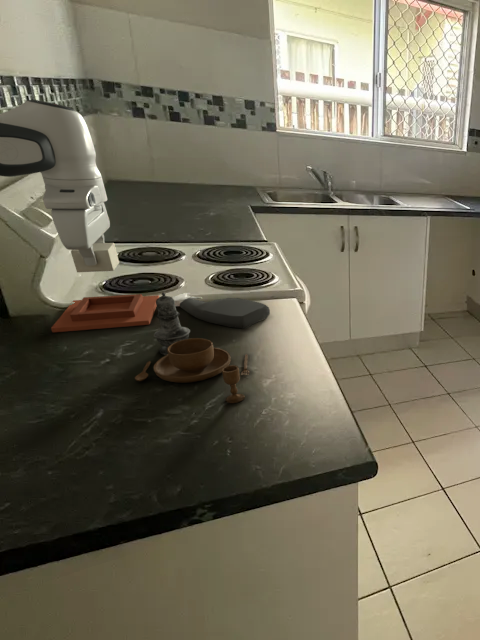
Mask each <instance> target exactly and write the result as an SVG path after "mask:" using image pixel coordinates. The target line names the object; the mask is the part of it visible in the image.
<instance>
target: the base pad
mask: <svg viewBox="0 0 480 640" xmlns="http://www.w3.org/2000/svg"><path fill="white" fill-rule="evenodd" d="M159 297H160V295H143V294H142V293H137V294H136V293H135V294H119V295H104V296H103V295H101V296H85V297H83V298H82V299H74V300H72V302H75V303H74V304H72V305H70V304H69V305H68V307H66V309H65V310H64V311H63V313H62V314H61V315H60V316H59V318H58V319H57V320H56V321H55V323H53V324H52V326H51V327H50V329H51V332H52V333H64V332H74V331H76V332H77V331H88V330H100V329H111V328H112V329H113V328H123V327H126V328H127V327H135V326H149V325H150V324H151V322H152V319H153V317H154V314H155V311H156V309H157V305H156V300H157V298H159Z"/></svg>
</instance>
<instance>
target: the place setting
mask: <svg viewBox="0 0 480 640" xmlns="http://www.w3.org/2000/svg"><path fill="white" fill-rule="evenodd" d="M167 352H168V355H164V356H162V357H160V358H159V359H158V360H157V361H156V362H154V364H153V371H154V373H155V375H156V376H157V377H159V378H160V379H161V380H164V381H167V382H170V383H179V384H181V383H182V384H185V383H196V382H201V381H205V380H208V379H210V378H211V379H212V378H213V377H215V376H218V375H219V374H222V378H223V381H224V383H225V384H226V385H229V387H230V391H229V392H230V395H228V396H227V397H226V398H225V402H226V403H228V404H237V403H240V402H243V401H244V400H245V399H246V397H245V395H244V394H243V393H238V388H237V384H238V383H239V381H240V379H241V377H242V376H249V375H250V371H249V369H248V354H245V355H244V360H243V361H244V363H243V370H242V371H241V373H240V369H239V366H238V365H235V364H231V360H232V358H231V357H232V356H231V354H230V352H228V351H227V350H225V349H223V348H219V347H214V344H213V342H212V341H211V340H210V339H207V338H202V337H201V338H200V337H193V338H188V339H185V340H181V341H178V342H175V343H173V344H171V345H170V346H169V347H168V348H167ZM151 364H152V361H151V360H149V361H147V362H146V364H145V366H144V367H143V370H142V371H141V372H140V373H138V374H136V375H135V376H134V380H135V381H136V382H143V381H145V380H147V378H148V377H149V373H147V370H148V368H149V367H150V365H151Z"/></svg>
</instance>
